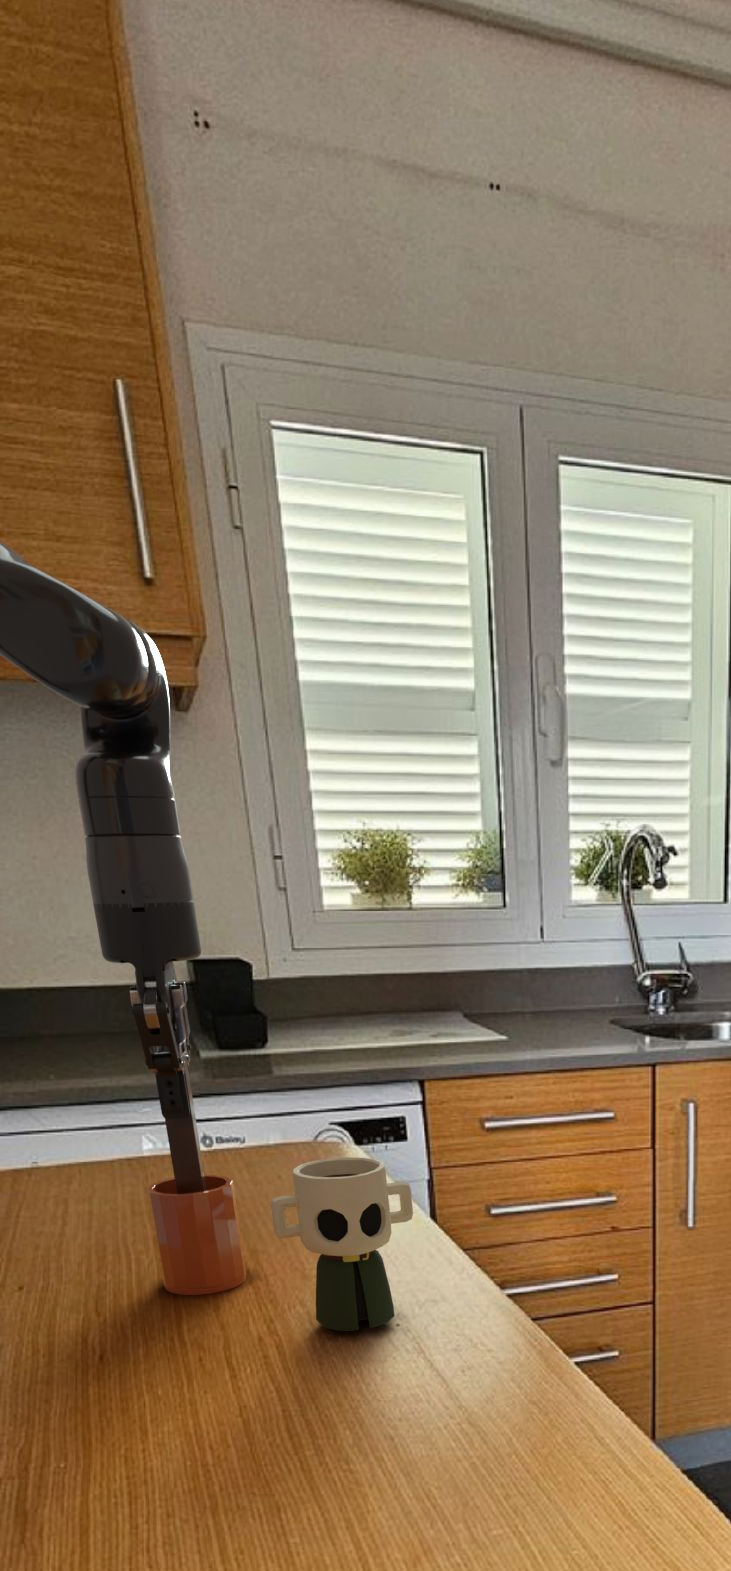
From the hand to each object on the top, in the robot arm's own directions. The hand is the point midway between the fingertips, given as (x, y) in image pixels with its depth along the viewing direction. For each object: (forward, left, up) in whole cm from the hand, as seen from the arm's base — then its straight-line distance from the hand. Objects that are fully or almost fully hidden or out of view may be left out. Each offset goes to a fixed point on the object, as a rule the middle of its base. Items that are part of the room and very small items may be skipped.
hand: (178, 1113), depth 102 cm
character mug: (+18, -7, -15) cm, 25 cm away
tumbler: (0, 0, -15) cm, 15 cm away
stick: (0, 0, -7) cm, 7 cm away
